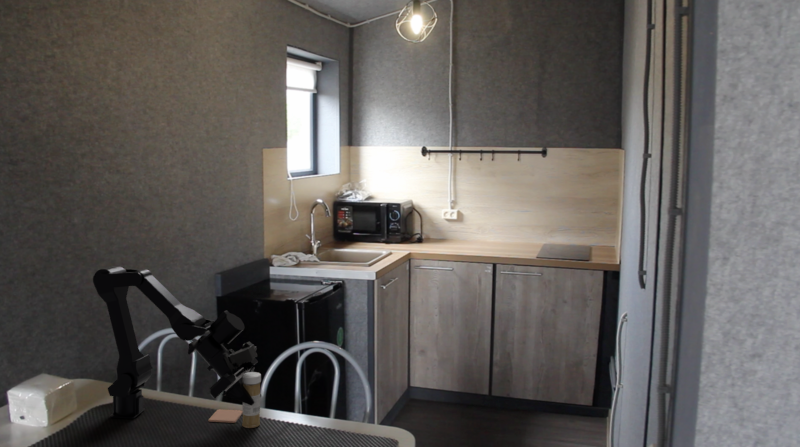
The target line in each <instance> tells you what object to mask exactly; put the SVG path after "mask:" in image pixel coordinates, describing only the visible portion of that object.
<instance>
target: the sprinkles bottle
mask: <svg viewBox="0 0 800 447" xmlns="http://www.w3.org/2000/svg"><path fill="white" fill-rule="evenodd" d="M261 382H262V374H261V373H260V372H257V371H254V372H248V373H245V374H243V386H244V387H245V389H246V390H247V392H248V393H249V394H250V396H251V397H252V399H253V400H254V402H255V403H254V404H253V405H249V404H246V403H244V402H242V424H241V425H242V427H244V428H245V429H254V428H257V427H259V426H260V424H261V422H260V418H261V417H260V413H261V397H260V394H261Z"/></svg>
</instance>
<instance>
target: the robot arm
mask: <svg viewBox="0 0 800 447" xmlns="http://www.w3.org/2000/svg"><path fill="white" fill-rule="evenodd" d="M92 283H93V286H94V289H95V291H96V293H97V295H98V296H99V298H101V299H102V300H103V301H104V302H105V303H104V304H105V305H106V308H107V314H108V316H109V321H110V324H111V329H112V332H113V336H114V341H115V345H116V349H117V353H118V360H117V364H116V365H117V366H116V370H115V372H116V380H115V381H114V382H113V383H112V384H110V385H109V387H107V391H108V394H109V397H112V413H111V414H110V415H109V418H111V419H113V418H114V419H130V420H131V419H132V420H133V419H135V418H136V417H138V416H139V415H140V414H141V413H142V412H144V411H145V409H146V408H145V407H144V397H145V396H144V395H143V390H142V389H141V388H143V387H145V386H146V383H147V381H148V380H150V378H151V376H152V370H153V369H154V367H153V366H152V363H151V358H150V357H151V356H150V355H149V354H146V355H144V354H143V353H142V352H141V351H140V349H139V346H138V340H137V338H136V332H135V328H134V324H133V320H132V316H131V312H130V309H129V304H128V299H127V296H128V293H129V288H130V287H136V288H137V289H138V290H139V291H140V292H141V293H142V294H143V296H145V297H146V298H147V299H148V300H149V301H150V302H151V303H152V304H153V305H154V306H155V307H156V308H157V309H158V310H159V311H160V312H161V313H162V314H163V315H165V318H167V320H168V322H169V325H170V328H171V329H172V331H173V332H174V334H175V335H176V336H177V337H178V339H180V340H181V341H184V342H185V341H187V342H188V341H191V342H189V343H188V350H187V355H189V356H190V355H192V354H193V353H195V352H197V353H198V354H199V355H200V357H201V358H202V359H203V360H204V361H205V362H206V364H208V367H207V370H208V371H209V372H211V371H212V370H213V372H215V374H217V376H218V377H219V379H218V380H217V381H216V382H214V383H213V384H212V385H211V387H209V391H208V392H209V395H210V396H211V397H212V399H213V400H216V399H217V398H218V397H219V396H220V395H221V394H222V395H221V396H222V397H227V398H230V399H234V400H236V401H239V402H242V403H243V402H244V403H246V404H249V405H253V404H254V403H255V402H254V400H253V399H252V397H251V396H250V394H249V393H248V392H247V390H246V389H245V387H244V386H243V374H245V373H248V372H255V368H256V367H255V365H257V363H258V362H259V361H258V359H257V358H258V353H257V349H258V348H257V346H255V344H253V343H252V342H251V341H247V342H244V343H243V344H242V348H240V349H239V350H237V351H235V350H234V349H232V348H229V349H227V347H225V345H229V344H230V343H231V342H232V341H233V340H234V339H235V338H237V336H239V335H240V334H241V333H242V332H243V331H244V330H245V324H244V322H243V320H242V318H240V317H238V316H237V315H235V314H234V313H230V312H229V311H228V310H224V311H223V312H222V313H220V315H219V316H218V317H217V319H215V320H213V319H207V318H205V317H204V316H203V315H202V314H200V313H199V312H197V311H196V310H194V309H192V308H190V307H187V306H185V305H184V304H182V303H181V302H180V301H179V299H177V298H176V297H175V296H174V295H173V293H171V292H170V291H169V290H168V289H167V288H166V287H165V286H164V285H163V284H162V283H161V282H160V281H159V280H158V279H157V278H155V276H154V275H153V273H152V272H151V270H148V269H147V268H146V269H145V268H143V269H138V268H137V269H136V268H125V267H124V268H123V267H122V266H120V265H113V266H109V267H105V268H101V269H99V270H97V271H96V272H94V275H93V276H92ZM207 333H209V334H207ZM205 334H207V335H205ZM196 338H198V339H197V340H196V341H192V340H195V339H196ZM224 344H225V345H224ZM223 392H224V393H223ZM261 397H262V394H261V393H260V398H261Z"/></svg>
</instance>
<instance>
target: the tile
mask: <svg viewBox="0 0 800 447" xmlns="http://www.w3.org/2000/svg"><path fill="white" fill-rule="evenodd" d="M242 411H243V409H242V410H239V409H238V410H236V409H218V408H217V409H216V411H215V412H214V413H213V414H212V415H211V416H210V418H208V422H214V423H227V424H228V423H229V424H231V423H233V424H235V423H237V421H238V420H239V419H240V418H241V416H243V413H242Z"/></svg>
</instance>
